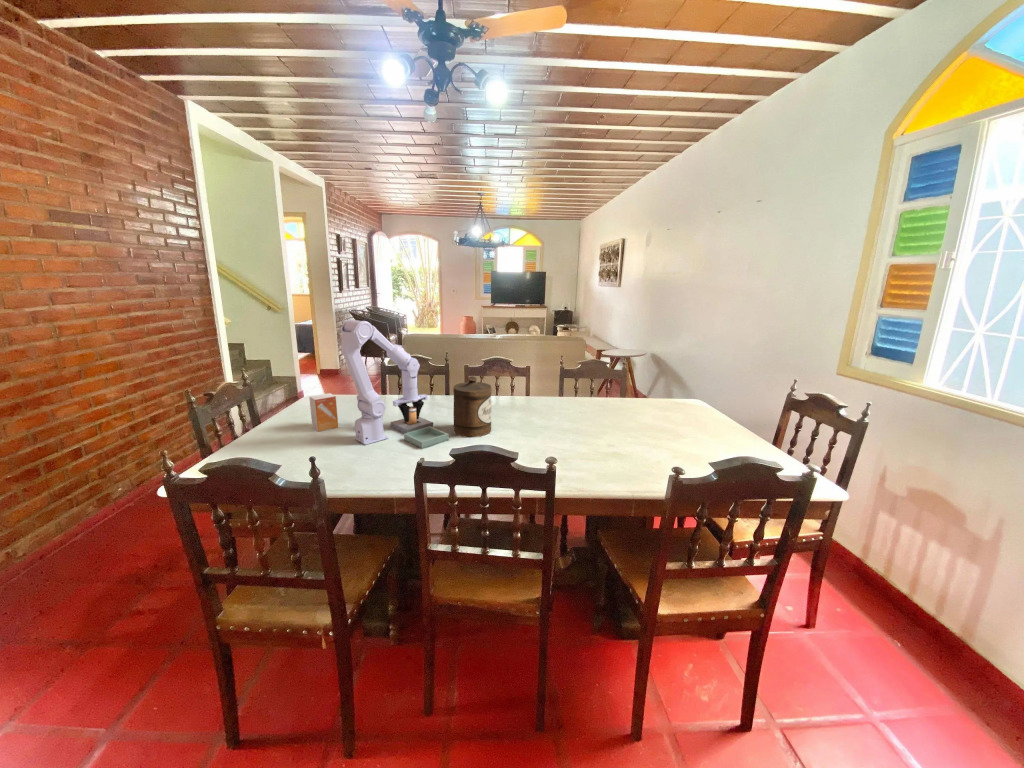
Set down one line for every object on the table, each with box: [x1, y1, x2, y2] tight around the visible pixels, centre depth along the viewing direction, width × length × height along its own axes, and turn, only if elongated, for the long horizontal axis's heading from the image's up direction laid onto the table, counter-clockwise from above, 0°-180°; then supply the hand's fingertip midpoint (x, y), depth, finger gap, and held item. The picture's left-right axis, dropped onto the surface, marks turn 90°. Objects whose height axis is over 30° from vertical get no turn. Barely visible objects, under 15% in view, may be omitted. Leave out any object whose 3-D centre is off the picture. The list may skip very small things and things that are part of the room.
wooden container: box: [453, 375, 492, 438], centre depth 160 cm, size 15×15×22 cm
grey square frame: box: [390, 416, 434, 434], centre depth 166 cm, size 12×12×2 cm
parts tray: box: [403, 426, 450, 450], centre depth 152 cm, size 12×12×2 cm
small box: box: [308, 392, 339, 433], centre depth 162 cm, size 8×6×13 cm
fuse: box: [407, 405, 417, 425], centre depth 165 cm, size 4×4×8 cm
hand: (411, 419), depth 165 cm, fingers open, 4 cm apart
